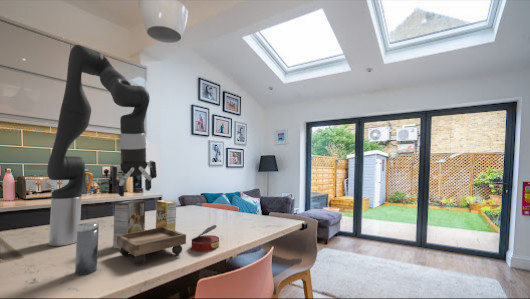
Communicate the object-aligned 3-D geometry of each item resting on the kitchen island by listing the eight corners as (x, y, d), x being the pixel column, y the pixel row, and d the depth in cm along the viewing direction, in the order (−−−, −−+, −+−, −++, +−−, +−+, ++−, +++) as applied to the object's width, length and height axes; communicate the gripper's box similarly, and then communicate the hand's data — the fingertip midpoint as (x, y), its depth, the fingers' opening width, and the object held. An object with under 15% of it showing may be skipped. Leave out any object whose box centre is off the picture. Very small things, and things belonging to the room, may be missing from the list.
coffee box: (130, 240, 99) (131, 199, 100) (144, 241, 98) (146, 200, 99) (112, 248, 90) (113, 203, 91) (127, 249, 89) (129, 203, 90)
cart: (116, 254, 83) (117, 235, 83) (163, 243, 95) (164, 226, 95) (134, 268, 72) (135, 245, 73) (185, 253, 84) (186, 234, 84)
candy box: (154, 239, 102) (155, 200, 103) (164, 236, 105) (165, 199, 106) (165, 243, 96) (166, 202, 97) (175, 241, 99) (176, 201, 100)
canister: (73, 271, 70) (75, 224, 71) (94, 266, 74) (96, 221, 75) (77, 277, 67) (79, 227, 68) (99, 271, 70) (101, 224, 71)
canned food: (200, 265, 86) (187, 242, 84) (194, 253, 95) (182, 232, 93) (228, 246, 91) (217, 223, 88) (220, 236, 100) (209, 215, 97)
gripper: (149, 143, 92) (150, 186, 94) (105, 146, 81) (107, 194, 84) (159, 146, 87) (160, 191, 89) (113, 150, 76) (116, 201, 79)
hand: (135, 192), depth 87 cm, fingers open, 8 cm apart
